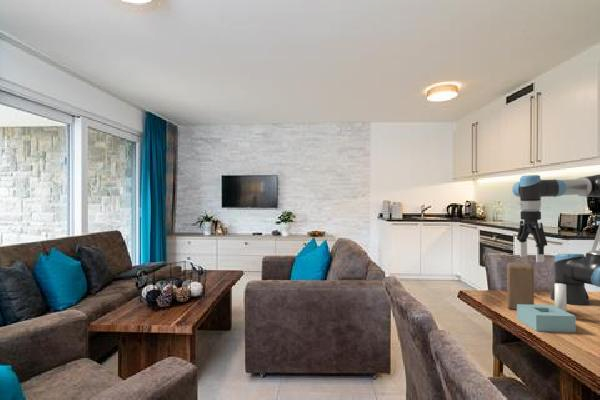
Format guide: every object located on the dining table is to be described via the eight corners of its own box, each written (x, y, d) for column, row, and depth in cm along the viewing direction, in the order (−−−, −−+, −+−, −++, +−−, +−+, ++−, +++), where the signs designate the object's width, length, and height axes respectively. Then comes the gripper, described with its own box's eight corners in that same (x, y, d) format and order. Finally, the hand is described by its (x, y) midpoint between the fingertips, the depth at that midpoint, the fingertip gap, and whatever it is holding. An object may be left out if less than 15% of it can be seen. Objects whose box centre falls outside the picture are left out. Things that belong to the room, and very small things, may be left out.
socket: (552, 319, 146) (552, 305, 146) (575, 332, 132) (575, 316, 132) (517, 318, 147) (516, 304, 147) (536, 331, 133) (536, 315, 133)
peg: (562, 315, 150) (562, 283, 150) (568, 319, 146) (568, 285, 146) (552, 315, 151) (552, 283, 151) (558, 318, 147) (558, 285, 147)
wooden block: (533, 312, 154) (533, 267, 154) (507, 309, 160) (507, 265, 160) (533, 306, 163) (532, 263, 163) (508, 303, 168) (507, 262, 168)
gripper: (508, 209, 166) (509, 254, 166) (536, 211, 142) (537, 264, 142) (525, 209, 165) (526, 254, 165) (557, 211, 141) (558, 264, 141)
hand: (531, 259), depth 154 cm, fingers open, 13 cm apart
